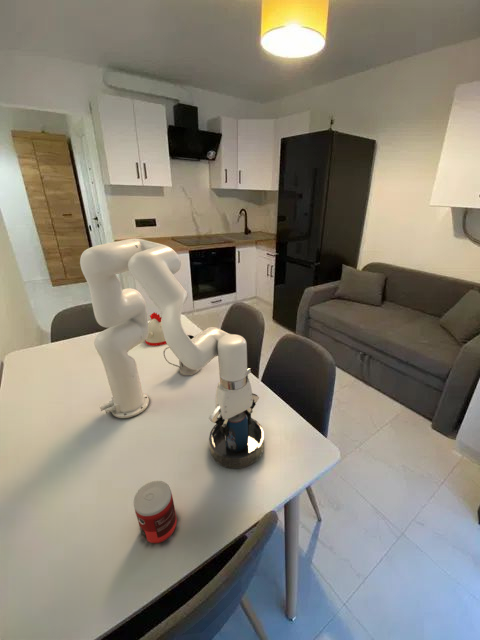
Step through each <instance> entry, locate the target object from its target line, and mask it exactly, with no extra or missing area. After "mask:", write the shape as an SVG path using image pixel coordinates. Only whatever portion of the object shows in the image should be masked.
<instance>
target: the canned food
mask: <svg viewBox="0 0 480 640" xmlns="http://www.w3.org/2000/svg"><path fill="white" fill-rule="evenodd" d="M133 497H134V499H133V509H134V513H135V515H136V519H137V522H138V526H139V529H140V532H141V536H142V538H143V539H144V540H145V541H147V542H148V543H150V544H160V543H163V542H165V541H167V540H168V539H169V538H170V537H171V536H172V535H173V533H174V531H176V527H177V522H178V520H177V519H178V518H177V512H176V508H175V502H174V497H173V493H172V489H171V486H170V485H169V484H168V483H167V482H165V481H162V480H153V481H150V482H147V483H145V484H144V485H142V486H141V487H140V488H139V489H138V491H137V492H136V493H135V495H134V496H133Z"/></svg>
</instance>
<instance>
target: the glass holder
mask: <svg viewBox="0 0 480 640" xmlns="http://www.w3.org/2000/svg"><path fill="white" fill-rule="evenodd" d="M187 335H188V337H189V338H190V339H192V338H194V337H195V336H194V335H192V334H187ZM168 349H170V348H169V346H166V347H165V348H164V350H163V353H162V355H163V357H164V359H165V362H167V363H168V364H169V365H172V366H173V367H174V366H175V367H177V368H179V373H180V374H181V375H182V376H193V375H195V374H197V373H199V371H200V370H201V369H198V370H193V369H190V368H188V367H186V366H185V365H184V364H183V363H182V362H181V361H180V360H179V359H178V362H179V365H177V364H175V363H172V362H170V361H169V360H168V359H167V358H166V355H165V352H166V350H168Z"/></svg>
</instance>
